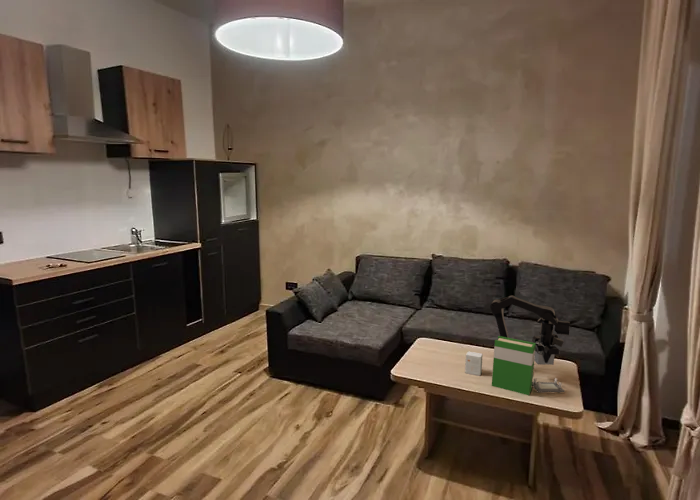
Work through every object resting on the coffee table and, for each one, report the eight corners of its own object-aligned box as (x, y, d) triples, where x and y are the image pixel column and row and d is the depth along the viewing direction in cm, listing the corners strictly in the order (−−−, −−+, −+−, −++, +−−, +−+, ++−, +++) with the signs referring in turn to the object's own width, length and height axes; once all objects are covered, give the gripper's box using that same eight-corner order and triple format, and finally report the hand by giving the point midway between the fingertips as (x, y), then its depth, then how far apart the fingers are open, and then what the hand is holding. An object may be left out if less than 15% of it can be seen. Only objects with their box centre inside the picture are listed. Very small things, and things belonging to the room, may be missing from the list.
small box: (481, 372, 234) (483, 353, 232) (480, 376, 229) (481, 357, 227) (466, 369, 237) (467, 350, 235) (464, 373, 232) (465, 354, 230)
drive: (538, 364, 223) (538, 354, 222) (534, 360, 227) (535, 350, 226) (554, 364, 223) (555, 354, 222) (550, 361, 227) (550, 350, 226)
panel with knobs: (538, 392, 212) (538, 384, 211) (530, 383, 221) (530, 376, 220) (564, 392, 212) (565, 385, 212) (555, 384, 221) (556, 376, 220)
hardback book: (491, 385, 218) (494, 340, 214) (495, 380, 224) (498, 335, 220) (528, 395, 209) (533, 347, 205) (531, 389, 215) (535, 343, 211)
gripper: (571, 338, 213) (568, 368, 216) (553, 326, 232) (551, 353, 234) (549, 338, 213) (546, 368, 216) (532, 325, 232) (530, 353, 234)
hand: (544, 360), depth 225 cm, fingers closed on drive, 4 cm apart
